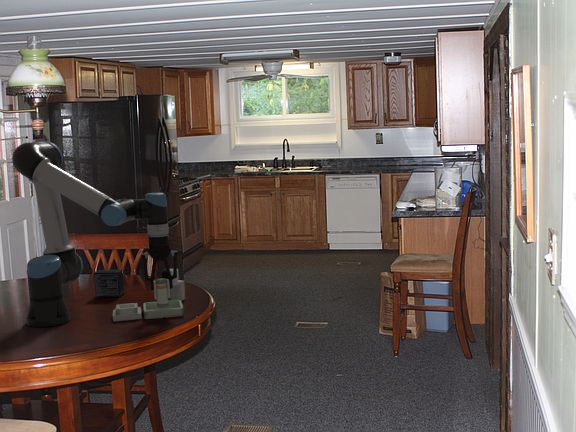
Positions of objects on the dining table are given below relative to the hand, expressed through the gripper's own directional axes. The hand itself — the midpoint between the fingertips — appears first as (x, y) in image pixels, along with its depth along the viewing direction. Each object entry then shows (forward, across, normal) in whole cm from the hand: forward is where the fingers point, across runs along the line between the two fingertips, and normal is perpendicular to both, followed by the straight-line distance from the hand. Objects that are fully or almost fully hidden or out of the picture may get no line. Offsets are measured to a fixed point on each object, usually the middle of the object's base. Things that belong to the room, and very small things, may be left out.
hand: (162, 297), depth 285 cm
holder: (+6, -13, -1) cm, 14 cm away
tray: (+6, 0, 0) cm, 6 cm away
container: (+6, +4, +18) cm, 19 cm away
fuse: (+3, 0, 0) cm, 3 cm away
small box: (+6, -20, +37) cm, 42 cm away
